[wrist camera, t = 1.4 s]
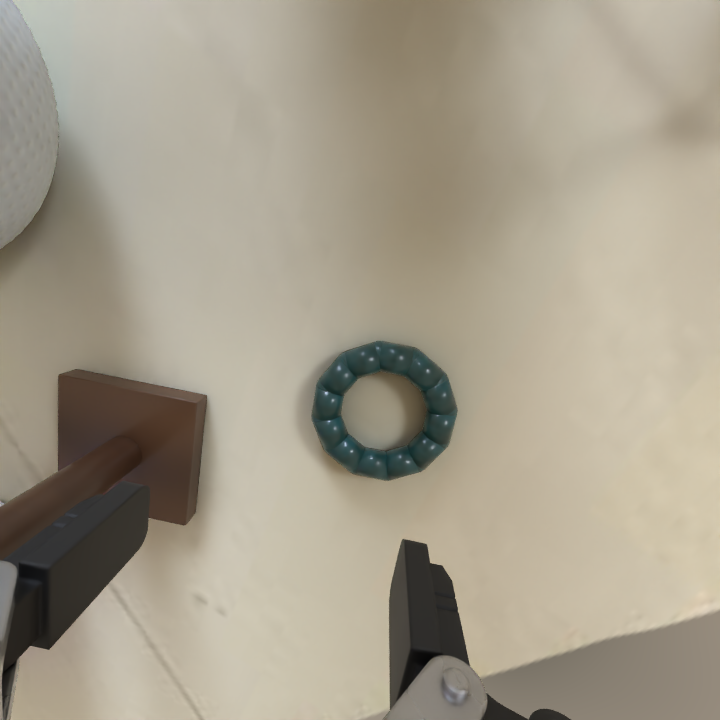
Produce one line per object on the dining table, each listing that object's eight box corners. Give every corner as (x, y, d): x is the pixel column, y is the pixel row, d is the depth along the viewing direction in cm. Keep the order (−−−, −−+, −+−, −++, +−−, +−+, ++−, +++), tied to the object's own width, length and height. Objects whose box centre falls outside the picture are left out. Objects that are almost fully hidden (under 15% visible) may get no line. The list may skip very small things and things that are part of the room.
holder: (76, 368, 26) (-243, 468, 13) (207, 394, 26) (20, 524, 13) (74, 487, 28) (-202, 679, 15) (196, 512, 28) (25, 729, 15)
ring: (327, 328, 24) (323, 332, 22) (467, 355, 24) (474, 362, 22) (306, 455, 26) (300, 469, 24) (435, 481, 26) (438, 497, 24)
